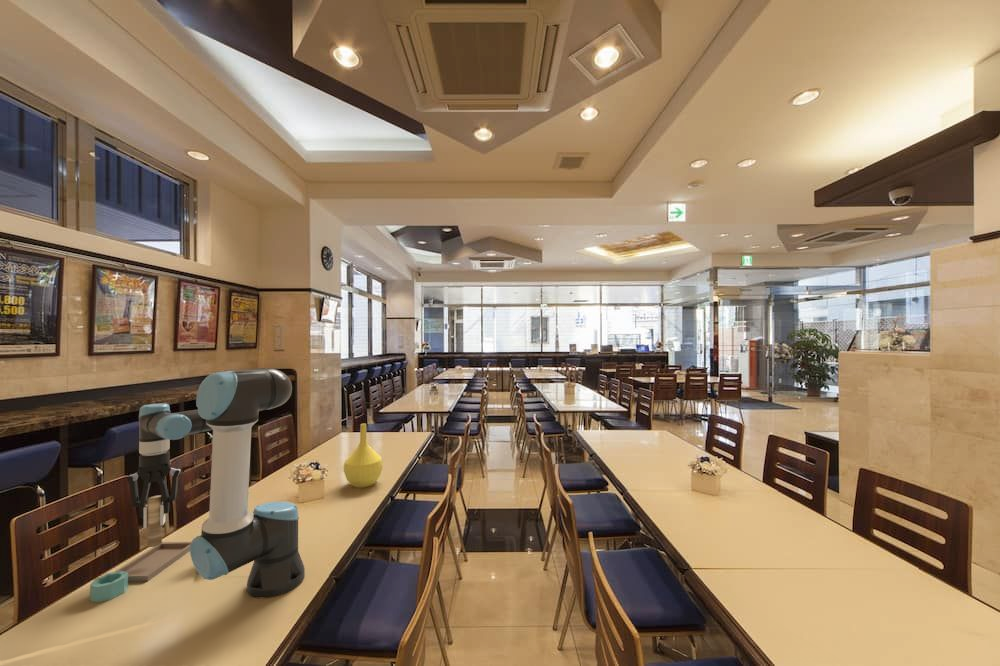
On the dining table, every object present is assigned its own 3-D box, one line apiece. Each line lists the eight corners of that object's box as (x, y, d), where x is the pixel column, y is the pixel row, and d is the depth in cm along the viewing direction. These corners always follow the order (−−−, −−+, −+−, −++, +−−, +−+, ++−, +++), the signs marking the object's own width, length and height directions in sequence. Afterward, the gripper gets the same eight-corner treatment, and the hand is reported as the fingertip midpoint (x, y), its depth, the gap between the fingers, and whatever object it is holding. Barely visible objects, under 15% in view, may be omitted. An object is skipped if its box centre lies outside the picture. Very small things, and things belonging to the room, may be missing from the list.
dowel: (160, 545, 130) (160, 498, 130) (145, 548, 128) (145, 500, 128) (163, 540, 133) (163, 494, 133) (149, 542, 131) (149, 496, 131)
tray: (147, 583, 121) (147, 575, 121) (106, 584, 120) (106, 576, 120) (196, 548, 141) (196, 541, 141) (161, 549, 140) (161, 542, 140)
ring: (121, 599, 113) (121, 581, 114) (86, 607, 110) (86, 589, 110) (130, 585, 120) (130, 568, 120) (97, 592, 117) (97, 575, 117)
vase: (355, 476, 211) (355, 419, 211) (388, 478, 208) (388, 420, 209) (336, 490, 193) (336, 427, 193) (372, 492, 190) (372, 428, 190)
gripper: (189, 446, 138) (188, 515, 138) (125, 452, 130) (125, 525, 130) (183, 451, 131) (183, 524, 131) (116, 459, 123) (116, 536, 123)
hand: (154, 524), depth 131 cm, fingers closed on dowel, 3 cm apart
